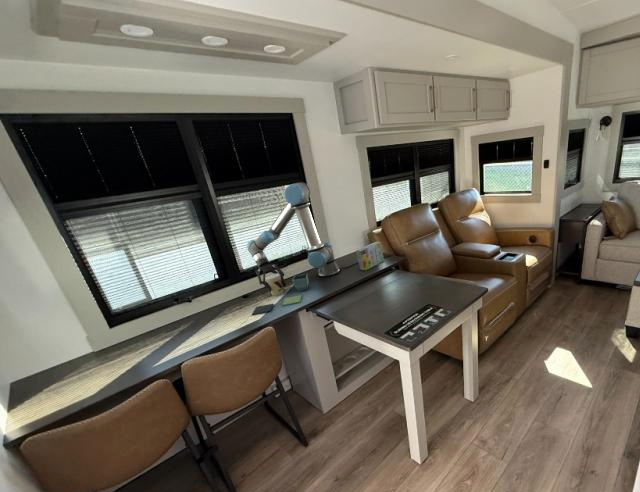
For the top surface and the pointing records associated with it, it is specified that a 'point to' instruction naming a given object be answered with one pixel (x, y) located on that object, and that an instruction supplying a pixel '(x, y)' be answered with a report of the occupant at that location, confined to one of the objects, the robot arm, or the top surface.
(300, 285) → the flower pot
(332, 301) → the top surface
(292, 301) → the sage mat
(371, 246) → the snack box
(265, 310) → the slate mat
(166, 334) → the top surface
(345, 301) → the top surface
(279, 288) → the coffee cup
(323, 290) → the top surface
